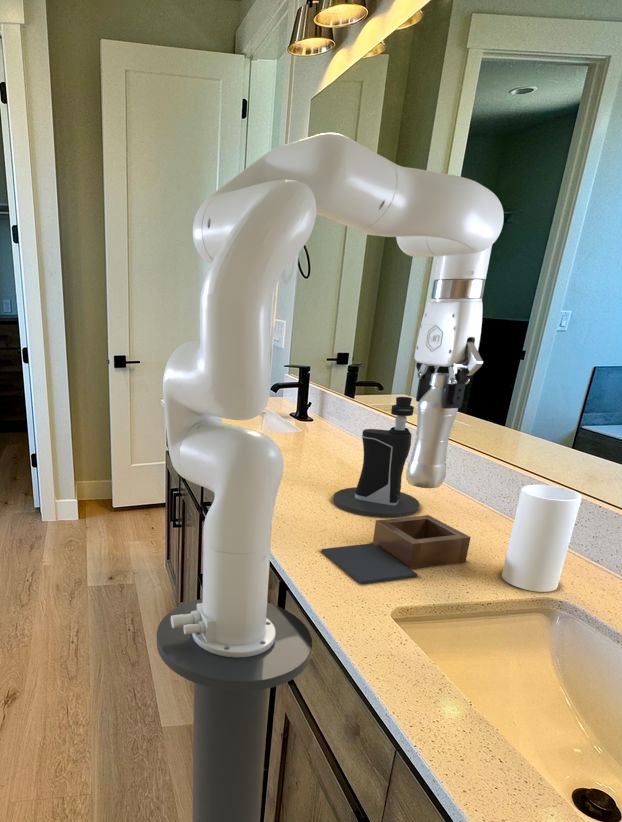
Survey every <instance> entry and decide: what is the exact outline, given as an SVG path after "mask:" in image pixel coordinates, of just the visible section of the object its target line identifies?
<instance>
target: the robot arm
mask: <svg viewBox="0 0 622 822" xmlns="http://www.w3.org/2000/svg"><path fill="white" fill-rule="evenodd" d="M504 214H505V213H504V208H503V205H502V203H501V201H500V199H499V198H498V196H497V195H496V194H495V193H494V192H493V191H492V190H490V189H489V188H487V187H486V186H484V185H482V184H481V183H479V182H477V181H476V180H472V179H470V178H468V177H463V176H459V175H454V174H449V173H443V172H437V171H431V170H426V169H421V168H414V167H406V166H402V165H399V164H397V163H395V162H393V161H392V160H389V159H388V158H387V157H384V156H382V155H380V154H378V153H377V152H375V151H373V150H371V149H370V148H368V147H366V146H364V145H363V144H361V143H359V142H357V141H355V140H354V139H352V138H350V137H348V136H346V135H343V134H341V133H336V132H324V133H318V134H315V135H312V136H309V137H305V138H302V139H299V140H295V141H292V142H289V143H286V144H282V145H279V146H276V147H273V149H271V150H270V151H268V152H266V153H264V154H263V155H261V156H260V157H259V158H257V159H256V160H255V161H253V162H252V163H251V164H249V165H248V166H247V167H246V168H244V169H243V170H242V171H240V172H239V173H238V174H236V175H235V176H234V177H233V178H231V179H229V180H228V182H226V183H224V185H222V186H220V187H219V188H218V189H217V190H215V191H214V192H212V193H211V194H210V195H209V196H208V197H207V198H206V199H204V201H203V202H202V203H201V205H200V206H199V208H198V210H197V211H196V213H195V216H194V219H193V224H192V240H193V244H194V247H195V250H196V251H197V253H198V255H199V256H200V257H201V258H202V259H203V260H204V261H205V262H207V264H210V265H209V267H208V270H207V272H206V275H205V277H204V280H203V283H202V286H201V290H200V296H199V339H198V340H190V341H187V342H185V343H183V344H181V345H179V346H178V347H177V348H176V349H174V351H173V352H172V353H171V355H170V356H169V358H168V360H167V362H166V365H165V367H164V372H163V377H162V378H163V379H162V398H163V406H164V407H163V408H164V418H165V428H166V429H165V430H166V438H167V447H168V454H169V458H170V461H171V464H172V467H173V468H174V470H175V472H176V473H177V474H178V475H179V476H180V477H181V478H183V479H185V480H186V481H188V482H190V483H192V484H195V485H197V486H200V487H202V488H204V489H206V490H209V491H211V492H212V493H214V498H213V501H212V504H211V505H210V507H209V509H208V511H207V513H206V516H205V518H204V522H203V531H202V535H203V536H202V540H203V547H202V548H203V551H202V554H203V555H202V556H203V557H202V599H203V603H198V604H197V610H196V611H191V614H184V615H183V614H180V615H173V616H171V625H172V628H181V627H183V631H184V634H192V636H193V639H194V640H195V642H196V643H197V644H198V645H199V646H200V647H202V648H203V649H205V650H206V651H209V652H211V653H213V654H217V655H220V656H225V657H234V658H239V657H250V656H254V655H258V654H260V653H262V652H265V651H266V650H268V649H269V648H270V647H271V646H272V645H273V644H274V641H275V636H276V631H275V627H274V625H273V624H272V623H271V621H270V620H269V619H267V618H266V612H267V603H268V595H269V594H268V593H269V580H270V578H269V577H270V563H271V547H272V529H273V527H272V526H273V518H274V510H275V506H276V500H277V497H278V493H279V490H280V489H279V488H280V486H281V481H282V479H283V473H284V466H285V463H284V457H283V453H282V451H281V449H280V446H279V445H278V444H277V442H276V441H275V440H273V438H271V437H270V436H268V435H266V434H264V433H263V432H260V431H259V430H258V431H257V430H255V429H253V428H248V427H244V426H242V425H241V426H240V425H236V424H232V423H227V422H226V423H225V422H223V419H225V420H231V421H232V420H233V421H248V420H253V419H255V418H256V417H258V416H260V415H261V414H262V413H263V412H264V411H265V409H266V407H267V406H268V403H269V399H270V395H271V380H272V379H271V378H272V377H271V375H272V374H271V373H272V372H271V330H270V329H271V327H270V326H271V325H270V324H271V305H272V298H273V296H274V292H275V289H276V287H277V285H278V282H279V280H280V278H281V276H282V275H283V273H284V272H285V270H286V269H287V267H288V266H289V264H290V263H291V262H292V260H294V258H295V257H296V256H297V255H298V254H299V252H301V251H302V249H303V248H304V247H305V246H306V244H307V242H308V241H309V238H310V237H311V235H312V232H313V230H314V227H315V223H316V217H317V216H320V217H323V218H326V219H329V220H330V221H334V222H336V223H338V224H341V225H342V226H346V227H348V228H350V229H353V230H355V231H358V232H360V233H362V234H365V235H369V236H373V237H374V236H377V237H384V238H385V237H386V238H396V242H397V245H398V247H399V249H400V250H401V251H402V252H403V253H404V254H405V255H407V256H408V257H412V258H434V257H436V264H435V271H434V277H433V284H432V287H431V295H430V301H428V302H427V304H426V306H425V310H424V313H423V316H422V320H421V323H420V327H419V331H418V334H417V340H416V345H415V352H414V353H413V360H414V363H415V367H416V370H417V376H416V377H417V378H418V384H417V391H416V397H415V401H416V402H417V403H419V401H420V399H421V398H422V397H423V395H424V394H425V393H426V392H427V391H428V390H429V389H430V387H431V385H429V383H430V381H431V375H432V373H438V370H439V369H440V367H445V368H446V367H447V369H448V374H449V377H450V383H451V384H447V385H446V390H445V396H444V402H443V408H446V409H451V408H458V409H461V408H462V406H463V400H464V396H465V391H466V385H468V384H469V383H470V379H471V378H473V377H474V375H475V374H476V372H477V371H478V370H479V369H480V368H481V367H482V366H483V364H484V360H483V358H482V357H481V355H480V352H479V347H480V342H481V334H482V326H483V325H482V324H483V310H484V309H483V306H484V305H483V296H484V291H485V285H486V279H487V274H488V269H489V264H490V258H491V254H492V248H493V244H494V243H496V242H497V240H498V238H499V237H500V234H501V232H502V229H503V226H504V218H505V217H504V216H505V215H504ZM458 370H460V371H459V372H458Z"/></svg>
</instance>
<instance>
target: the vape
mask: <svg viewBox="0 0 622 822" xmlns="http://www.w3.org/2000/svg"><path fill="white" fill-rule="evenodd" d="M412 400H413V398H412V397H411V396H410V397H408V396H397V397H396V398H395V404H393V405H391V408H390V409H391V410H390V414H391V415H392V416H395V420H394V421H395V425H394V426H391V427H390V429H379V428H365V429H363V430H362V433H361V438H362V447H363V461H362V468H361V472H360V475H359V479H358V482H357V484H356V487H353V486H352V487H347V488H343V489H340V490H338V491H336V492H335V493H334V494H333V498H332V499H333V503H334V505H335V506H337V507H338V508H340V509H341V510H344V511H346V512H349V513H352V514H355V515H359V516H366V517H372V518H382V519H383V518H385V519H395V518H404V517H410V516H411V515H414V514H416V513H417V512H419V510H420V509H419V508H420V502H419V500H417V498H416V497H414V496H412V495H411V494H408V493H405V492H403V491H401V489H402V478H403V477H402V476H403V472H404V467H405V464H406V461H407V458H408V456H409V453H410V450H411V446H412V432H411V431H410V429H409V428H407V427H406V424H407V421H408V418H407V417H410V416H413V415H414V409H415V407H414V406H413V405H411V404H412Z"/></svg>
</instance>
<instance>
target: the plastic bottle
mask: <svg viewBox="0 0 622 822" xmlns="http://www.w3.org/2000/svg"><path fill="white" fill-rule="evenodd" d="M447 384H451V383H450V377H449V372H447V373H446V372H437V373H432V375H431V381H430V383H429V385H431V387H430V389H429V390H428V391H427V392H426V393H425V394H424V395H423V397H422V398H421V399H420V401H419V402H417V412H416V413H417V414H416V432H415V434H416V435H415V441H414V445H413V449H412V453H411V457H410V459H409V462H408V464H407V468H406V472H405V473H406V474H405V479H406V481H407V483H408V485H410V486H412V487H415V488H421V489H437V488H439V487H440V486H441V485H443V483H444V481H445V479H446V476H447V463H446V462H447V453H448V444H449V440H450V439H449V438H450V436H451V432H452V428H453V425H454V423H455V420H456V417H457V413H458V411H459V408H451V409H446V408H443V402H444V396H445V390H446V385H447Z"/></svg>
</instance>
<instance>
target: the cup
mask: <svg viewBox="0 0 622 822" xmlns="http://www.w3.org/2000/svg"><path fill="white" fill-rule="evenodd" d="M582 499H583V498H582V495H581V493H579V492H577V491H575V490H572V489H569V488H565V487H561V486H556V485H549V484H527V485H525V486H523V487H522V488H521V490H520V494H519V498H518V503H517V505H516V512H515V514H514V515H515V516H514V520H513V523H512V529H511V533H510V538H509V541H508V546H507V549H506V555H505V559H504V564H503V567H502V572H501V577H502V580H504V582H506V583H508V584H509V585H512V586H514V587H516V588H519V589H522V590H526V591H531V592H536V593H537V592H539V593H546V592H553V591H555V590H557V589H558V587H559V583H560V579H561V576H562V572H563V569H564V565H565V561H566V558H567V554H568V550H569V547H570V543H571V539H572V536H573V532H574V528H575V524H576V520H577V516H578V514H579V511H580V510H579V509H580V506H581V502H582Z"/></svg>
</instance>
